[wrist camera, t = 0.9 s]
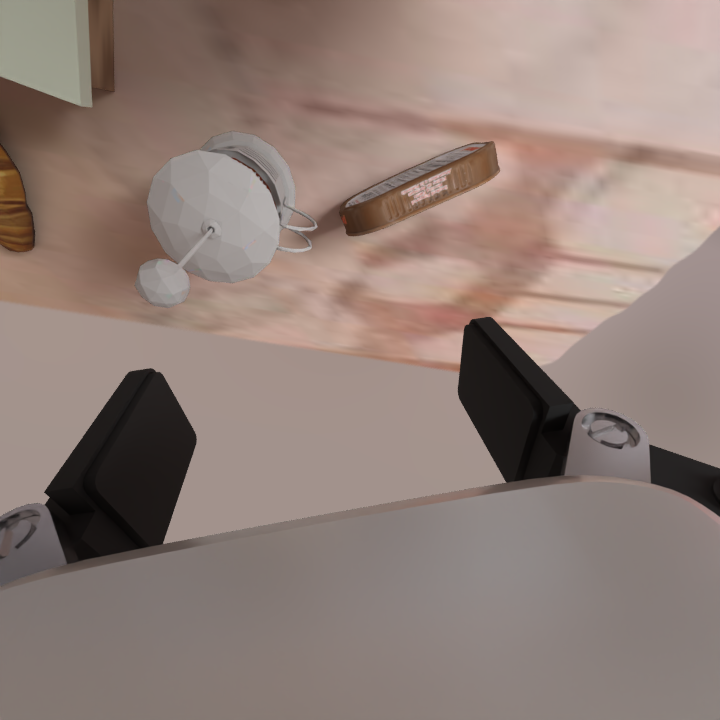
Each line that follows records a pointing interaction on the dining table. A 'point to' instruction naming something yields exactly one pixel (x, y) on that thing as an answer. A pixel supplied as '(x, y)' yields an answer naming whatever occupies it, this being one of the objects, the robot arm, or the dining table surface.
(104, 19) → the housing
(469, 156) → the tin
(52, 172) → the dining table surface
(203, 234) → the french press
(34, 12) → the cover
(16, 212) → the croissant
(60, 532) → the robot arm
